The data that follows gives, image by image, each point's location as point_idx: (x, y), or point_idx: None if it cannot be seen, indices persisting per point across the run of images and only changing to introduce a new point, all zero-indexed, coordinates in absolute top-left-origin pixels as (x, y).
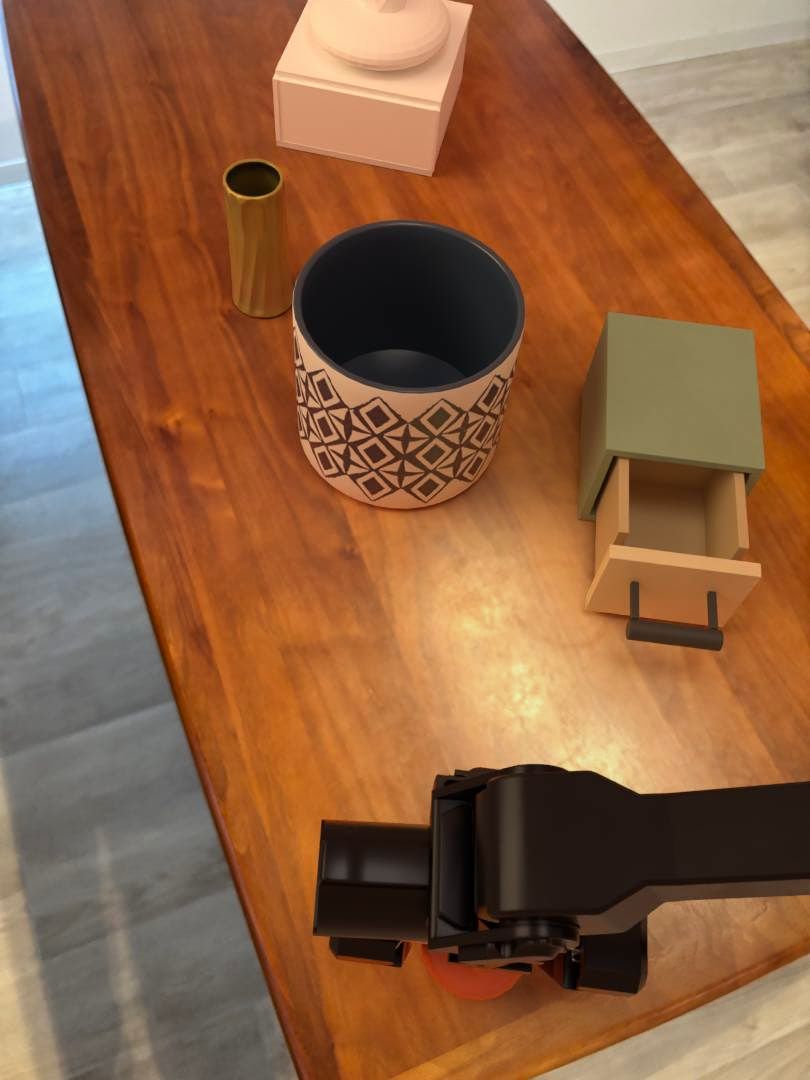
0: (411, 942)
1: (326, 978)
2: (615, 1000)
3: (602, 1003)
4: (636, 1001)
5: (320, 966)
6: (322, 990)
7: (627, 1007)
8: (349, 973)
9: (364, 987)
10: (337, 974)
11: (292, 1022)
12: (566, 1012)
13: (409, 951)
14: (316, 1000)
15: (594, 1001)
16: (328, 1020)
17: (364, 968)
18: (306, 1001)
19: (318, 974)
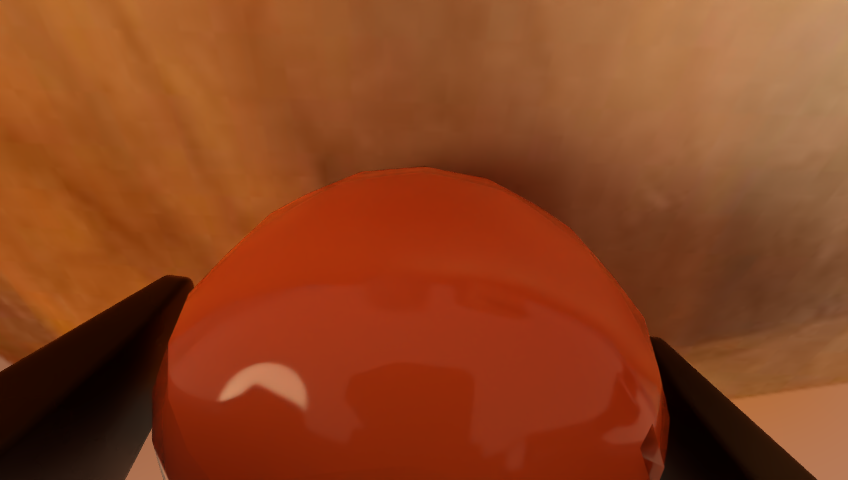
0: (151, 404)
1: (37, 297)
2: (784, 364)
3: (747, 367)
4: (837, 367)
5: (4, 274)
6: (41, 317)
7: (805, 375)
8: (92, 290)
9: None
10: (61, 291)
11: (8, 361)
12: None
13: (129, 470)
14: (38, 332)
15: (729, 363)
16: None
17: (128, 283)
18: (15, 333)
19: (10, 289)
